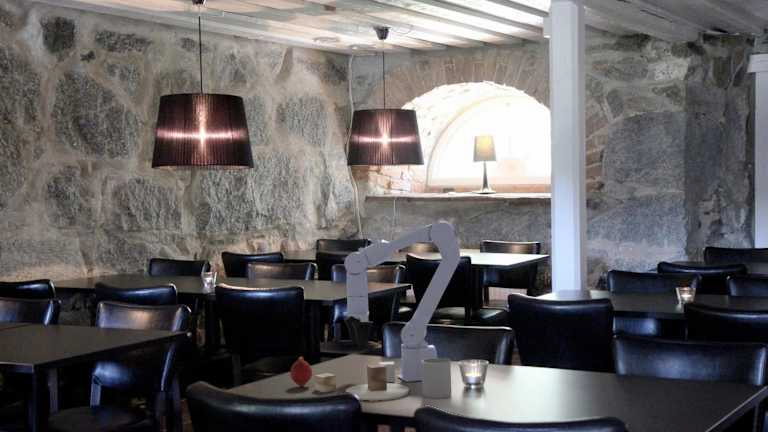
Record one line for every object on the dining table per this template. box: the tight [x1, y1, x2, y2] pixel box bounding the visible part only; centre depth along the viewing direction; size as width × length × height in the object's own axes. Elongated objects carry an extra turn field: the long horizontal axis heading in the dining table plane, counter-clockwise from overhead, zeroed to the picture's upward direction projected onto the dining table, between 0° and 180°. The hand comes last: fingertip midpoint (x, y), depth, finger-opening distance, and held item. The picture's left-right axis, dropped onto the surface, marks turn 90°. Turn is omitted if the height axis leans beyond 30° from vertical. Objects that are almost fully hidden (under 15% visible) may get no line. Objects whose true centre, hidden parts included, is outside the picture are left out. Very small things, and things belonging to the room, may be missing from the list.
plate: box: [345, 383, 410, 402], centre depth 251 cm, size 16×16×1 cm
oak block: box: [314, 372, 337, 393], centre depth 258 cm, size 4×4×4 cm
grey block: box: [378, 361, 396, 383], centre depth 267 cm, size 4×4×5 cm
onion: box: [290, 356, 313, 388], centre depth 263 cm, size 6×6×8 cm
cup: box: [421, 357, 452, 400], centre depth 247 cm, size 7×10×9 cm
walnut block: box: [366, 363, 387, 392], centre depth 250 cm, size 4×4×6 cm
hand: (359, 345), depth 271 cm, fingers open, 7 cm apart
